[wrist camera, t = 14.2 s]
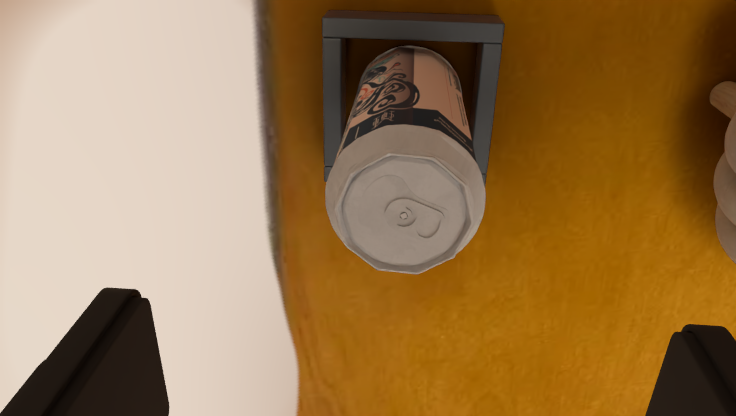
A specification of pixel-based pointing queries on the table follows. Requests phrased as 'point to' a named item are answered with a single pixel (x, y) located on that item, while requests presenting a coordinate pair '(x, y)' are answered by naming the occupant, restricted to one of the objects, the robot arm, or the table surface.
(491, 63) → the holder
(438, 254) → the beer can
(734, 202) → the toy sheep
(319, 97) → the table surface
